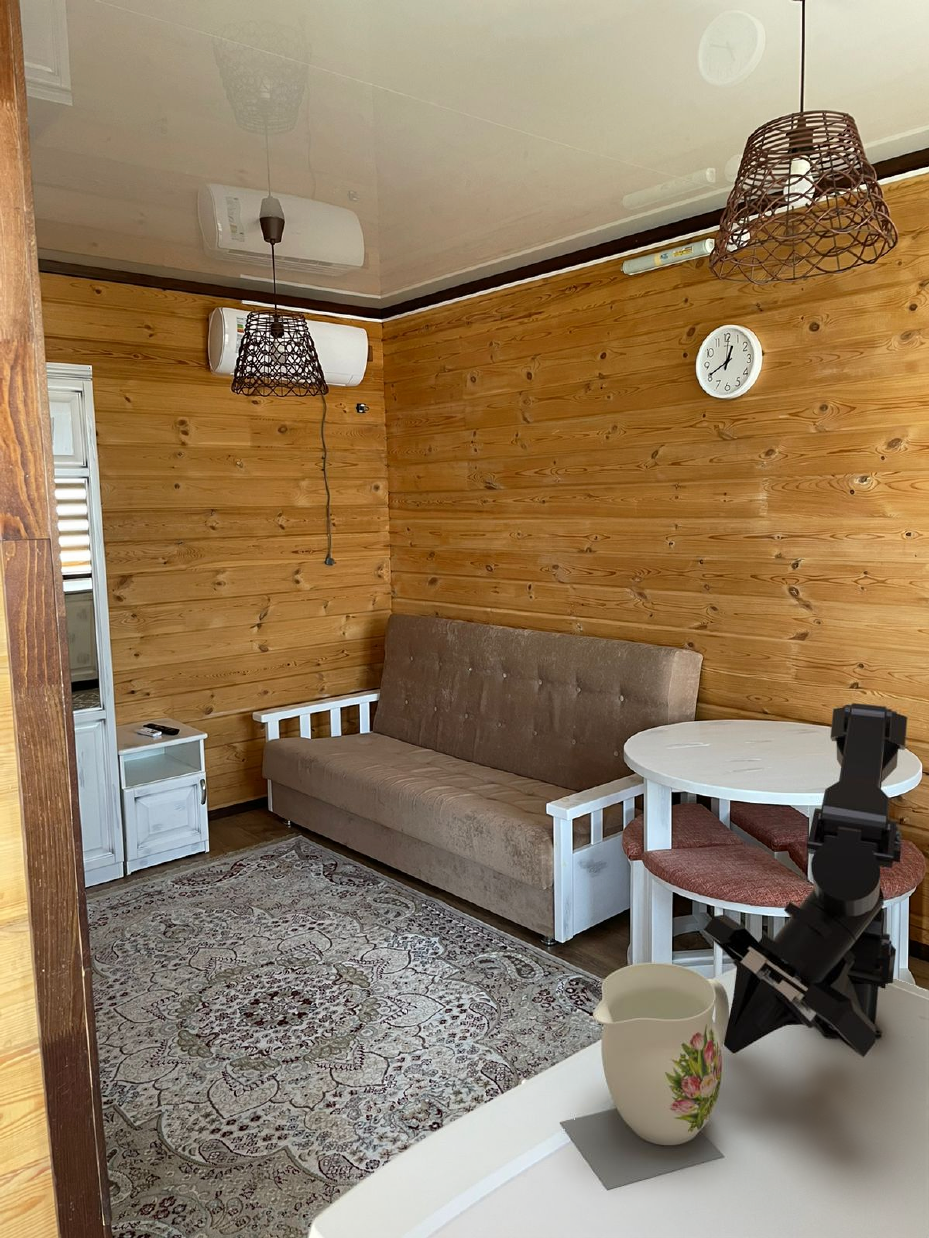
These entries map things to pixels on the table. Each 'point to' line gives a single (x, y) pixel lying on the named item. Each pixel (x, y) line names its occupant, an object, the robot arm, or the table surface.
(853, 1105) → the table surface
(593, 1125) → the slate pad
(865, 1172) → the table surface
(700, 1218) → the table surface
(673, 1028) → the pitcher
